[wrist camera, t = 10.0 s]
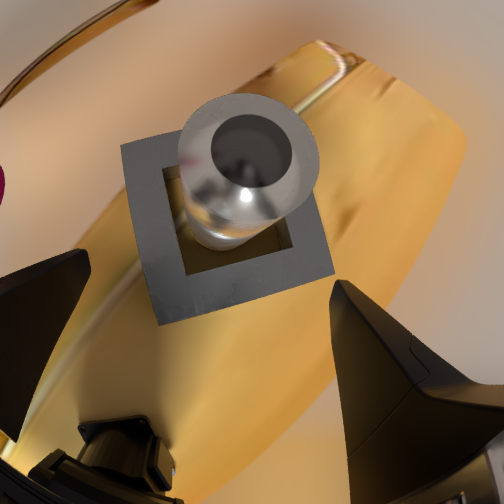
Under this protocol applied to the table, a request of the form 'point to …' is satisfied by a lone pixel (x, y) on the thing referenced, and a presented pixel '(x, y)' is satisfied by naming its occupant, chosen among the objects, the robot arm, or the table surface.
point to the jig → (222, 278)
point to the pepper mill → (1, 184)
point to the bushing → (243, 167)
